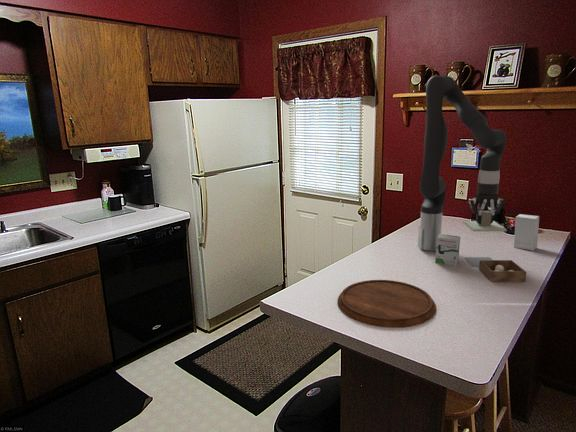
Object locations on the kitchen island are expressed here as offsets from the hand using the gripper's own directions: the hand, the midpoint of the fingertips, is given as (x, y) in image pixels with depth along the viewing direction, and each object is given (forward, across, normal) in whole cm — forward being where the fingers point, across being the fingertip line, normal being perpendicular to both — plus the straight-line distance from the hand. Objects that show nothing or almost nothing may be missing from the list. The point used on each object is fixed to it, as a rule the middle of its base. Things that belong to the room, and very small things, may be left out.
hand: (484, 223), depth 167 cm
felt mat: (+17, 0, 0) cm, 17 cm away
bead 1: (+16, 0, -17) cm, 24 cm away
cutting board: (+18, -44, -37) cm, 60 cm away
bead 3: (+16, +5, -17) cm, 24 cm away
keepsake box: (+17, +2, -15) cm, 22 cm away
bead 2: (+16, +3, -12) cm, 20 cm away
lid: (+1, 0, 0) cm, 1 cm away
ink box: (+17, -14, -1) cm, 22 cm away
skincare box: (+17, +26, +20) cm, 37 cm away
